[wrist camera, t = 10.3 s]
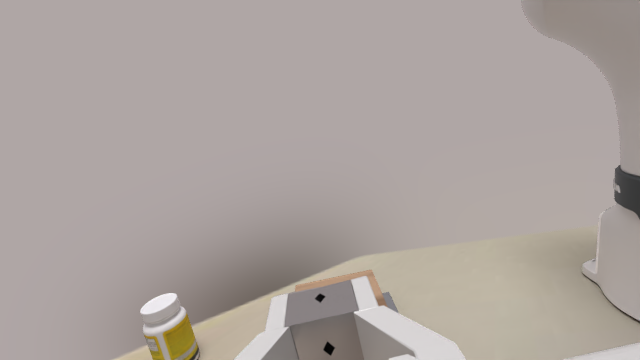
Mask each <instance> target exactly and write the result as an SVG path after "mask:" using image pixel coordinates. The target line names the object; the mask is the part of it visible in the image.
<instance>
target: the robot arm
mask: <svg viewBox="0 0 640 360" xmlns="http://www.w3.org/2000/svg"><path fill="white" fill-rule="evenodd" d="M521 3H522V8H523V11H524V14H525V16H526V18H527V20H528V21H529V23H530V24H531V25H532V26H533V27H534V28H535V29H536V30H537V31H538V32H540V33H541V34H543V35H545V36H547V37H549V38H553V39H556V40H558V41H561V42H564V43H566V44H568V45H570V46H572V47H574V48H575V49H577V50H579V51H580V52H582V53H583V54H584V55H586V56H587V57H588V58H589V59H590V60H591V61H592V62H594V64H595V65H596V66H597V67H598V68H599V69H600V71H601V72H602V73H603V74H604V76H605V78H606V80H607V81H608V83H609V85H610V87H611V90H612V93H613V96H614V99H615V104H616V109H617V116H618V124H619V135H620V158H621V165H619V166H618V167H617V168H616V169H615V178H614V180H613V188H614V190H615V201H616V202H617V204H616V205H615V206H613V207H611V208H609V209H607V210H606V211H605V212H603V213H601V214H600V216H599V223H598V235H597V250H596V258H594V259H591V260H589V261H587V262H584V263H583V265H582V273H583V274H584V275H586V276H587V277H588V278H590V279H591V280H593V281H594V282H596V283H597V284H598V285H599V286H600V288H601V290H602V291H603V293H604V295H605V296H606V297H607V298H608V300H610V301H611V302H612V303H613V304H614V305H615V306H616V307H618V308H619V309H620V310H622V311H623V312H625V313H627V314H628V315H630V316H632V317H633V318H635V319H637V320H639V321H640V0H521ZM234 360H466V358H465V357H464V355H463V354H462V352H461V351H460V349H459V348H458V346H457V345H456V343H455V342H453V341H451V340H449V339H447V338H445V337H443V336H441V335H440V334H438V333H436V332H434V331H432V330H430V329H428V328H426V327H424V326H422V325H420V324H418V323H416V322H414V321H413V320H411V319H409V318H407V317H405V316H403V315H401V314H399V313H397V312H395V311H393V310H391V309H389V308H388V307H386V306H378V303H377V300H376V298H375V295H374V293H373V290H372V287H371V285H370V282H369V279H368V277H367V276H362V277H359V278H355V279H351V280H347V281H343V282H339V283H335V284H331V285H327V286H323V287H317V288H312V289H307V290H302V291H297V292H292V293H289V294H288V293H287V294H282V295H278V296H274V297H273V298H272V299H271V303H270V308H269V313H268V318H267V322H266V327H265V332H262V333H259V334H258V335H257V336H256V337H255V338H254V339H253V340H252V341H251V342H250V343H249V344H248V345H247V346H246V347H245V348H244V349H243V351H242V352H241V353H240V354H239V355H238V356H237V357H236V358H235V359H234ZM562 360H640V342H638V343H634V344H629V345H625V346H620V347H616V348H611V349H607V350H602V351H598V352H593V353H589V354H584V355H580V356H575V357H571V358H566V359H562Z"/></svg>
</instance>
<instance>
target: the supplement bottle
mask: <svg viewBox="0 0 640 360" xmlns="http://www.w3.org/2000/svg"><path fill="white" fill-rule="evenodd" d="M140 312H141V316H142V319H143V322H144V323H145V324H144V326H143V333H144V336H145V339H146V341H147V344H148V347H149V350H150V352H151V355H152V358H153V360H197V359H198V357H199V348H198V345H197V342H196V339H195V336H194V333H193V330H192V327H191V324H190V322H189V318H188V315H187V312H186V310H185V309H184V308H183V307H181V306H180V302H179V299H178V297H177V295H176V294H174V293H168V294H164V295H161V296H158V297H156V298H154V299H152V300H150V301H149V302H147V303H146V304H145V305H144V306H143V307H142V309H141V311H140Z"/></svg>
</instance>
